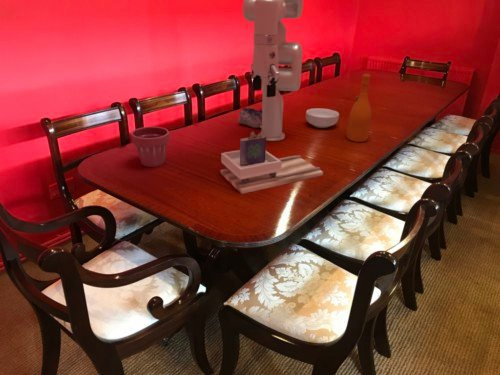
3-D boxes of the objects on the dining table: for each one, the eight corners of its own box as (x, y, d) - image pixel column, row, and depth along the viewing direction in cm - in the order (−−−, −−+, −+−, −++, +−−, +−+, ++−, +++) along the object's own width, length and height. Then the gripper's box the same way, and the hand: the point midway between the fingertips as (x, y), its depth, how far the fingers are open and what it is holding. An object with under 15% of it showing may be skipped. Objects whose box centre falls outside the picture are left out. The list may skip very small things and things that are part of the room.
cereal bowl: (337, 132, 190) (339, 118, 186) (303, 129, 193) (304, 115, 189) (337, 122, 205) (339, 108, 201) (306, 119, 207) (307, 106, 204)
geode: (279, 126, 197) (280, 108, 192) (268, 135, 190) (268, 116, 184) (246, 118, 207) (246, 100, 201) (234, 126, 199) (233, 108, 193)
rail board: (220, 173, 145) (220, 168, 144) (296, 158, 159) (296, 153, 158) (241, 193, 131) (241, 187, 130) (322, 175, 145) (323, 169, 144)
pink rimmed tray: (221, 168, 143) (221, 153, 140) (259, 161, 149) (259, 146, 147) (240, 185, 130) (240, 169, 127) (280, 177, 137) (281, 161, 134)
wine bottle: (364, 135, 185) (374, 71, 172) (370, 142, 177) (381, 76, 163) (344, 135, 185) (352, 71, 171) (349, 142, 176) (358, 76, 163)
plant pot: (178, 160, 156) (176, 130, 150) (154, 172, 145) (150, 140, 139) (152, 153, 162) (149, 124, 156) (127, 164, 151) (122, 133, 146)
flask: (241, 166, 136) (241, 135, 130) (238, 163, 138) (238, 132, 133) (266, 162, 139) (267, 132, 134) (262, 159, 142) (263, 129, 137)
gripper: (289, 42, 119) (286, 98, 126) (262, 37, 132) (261, 87, 140) (268, 44, 115) (266, 100, 123) (243, 38, 129) (242, 89, 137)
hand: (263, 93), depth 132 cm, fingers open, 9 cm apart
